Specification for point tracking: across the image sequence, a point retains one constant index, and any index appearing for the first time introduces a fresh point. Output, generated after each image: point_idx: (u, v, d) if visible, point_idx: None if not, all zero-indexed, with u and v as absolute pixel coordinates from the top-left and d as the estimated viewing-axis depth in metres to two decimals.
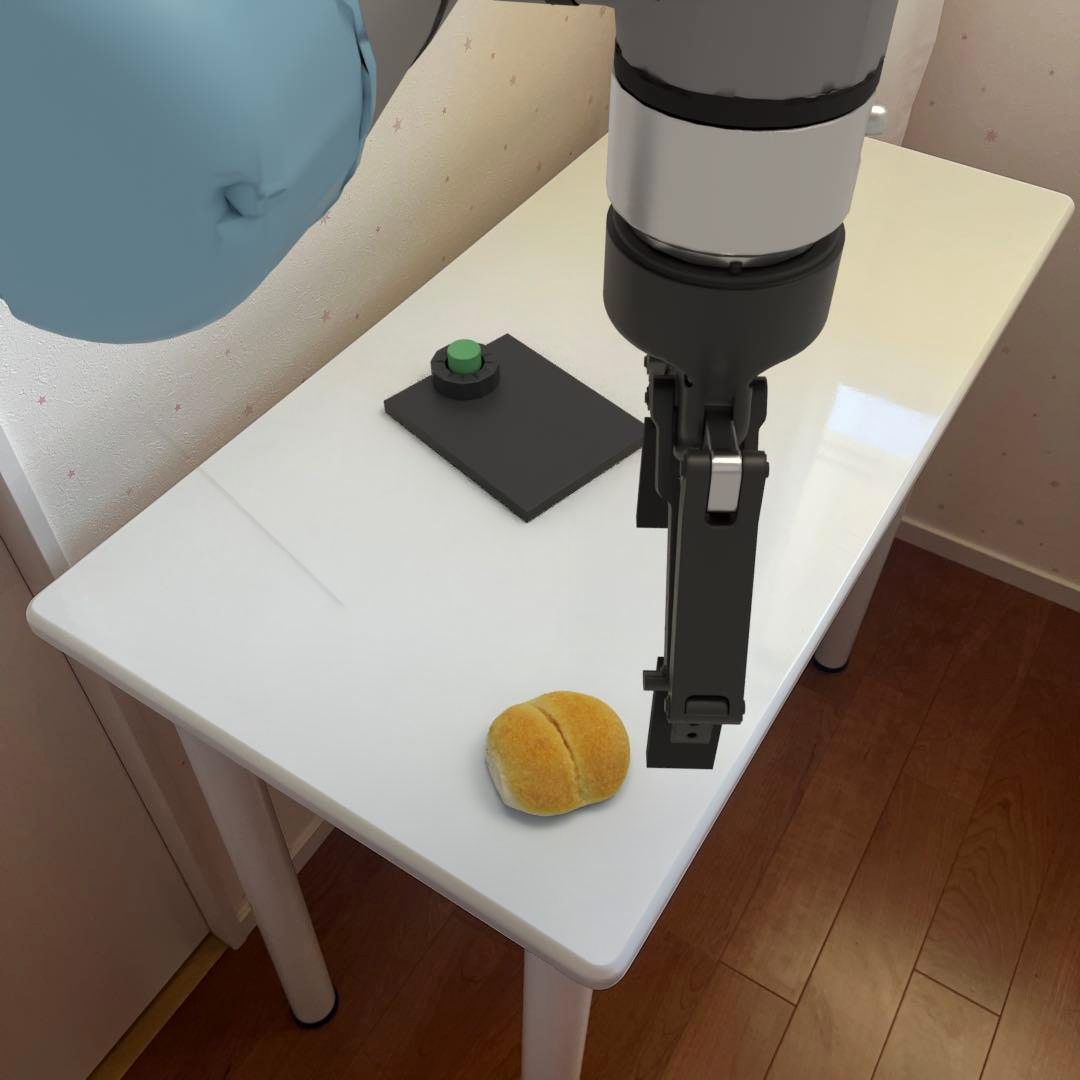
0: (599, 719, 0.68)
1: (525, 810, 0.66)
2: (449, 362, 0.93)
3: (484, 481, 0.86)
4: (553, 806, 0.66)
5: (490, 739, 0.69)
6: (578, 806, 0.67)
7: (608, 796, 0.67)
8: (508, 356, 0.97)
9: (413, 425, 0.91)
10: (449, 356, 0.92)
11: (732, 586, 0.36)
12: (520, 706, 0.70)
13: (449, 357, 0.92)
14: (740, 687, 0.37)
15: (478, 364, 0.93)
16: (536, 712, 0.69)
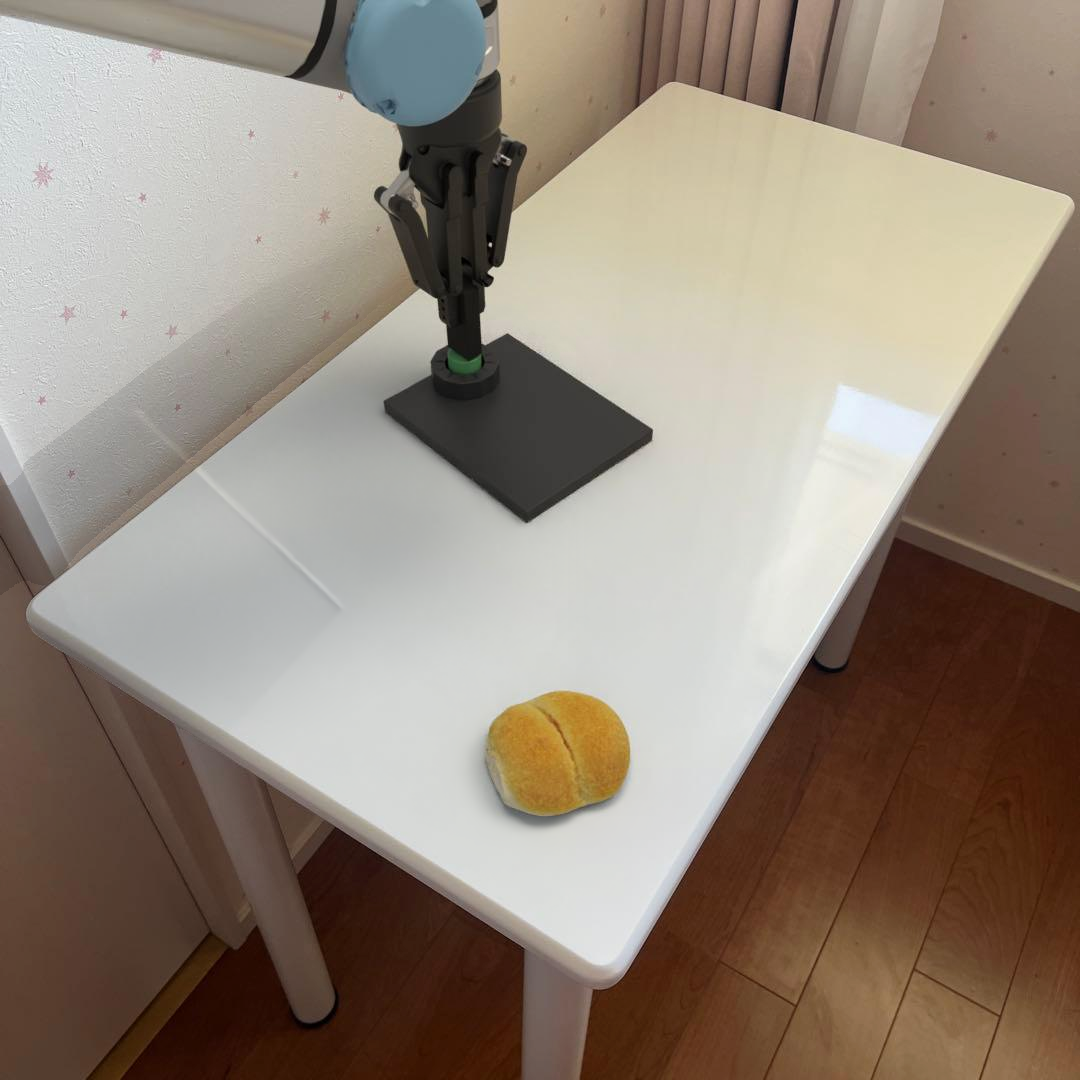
0: (599, 719, 0.68)
1: (525, 810, 0.66)
2: (449, 366, 0.93)
3: (484, 481, 0.86)
4: (553, 806, 0.66)
5: (490, 739, 0.69)
6: (578, 806, 0.67)
7: (608, 796, 0.67)
8: (508, 356, 0.97)
9: (413, 425, 0.91)
10: (449, 360, 0.92)
11: (410, 245, 0.81)
12: (520, 706, 0.70)
13: (449, 361, 0.93)
14: (428, 285, 0.84)
15: (478, 368, 0.93)
16: (536, 712, 0.69)
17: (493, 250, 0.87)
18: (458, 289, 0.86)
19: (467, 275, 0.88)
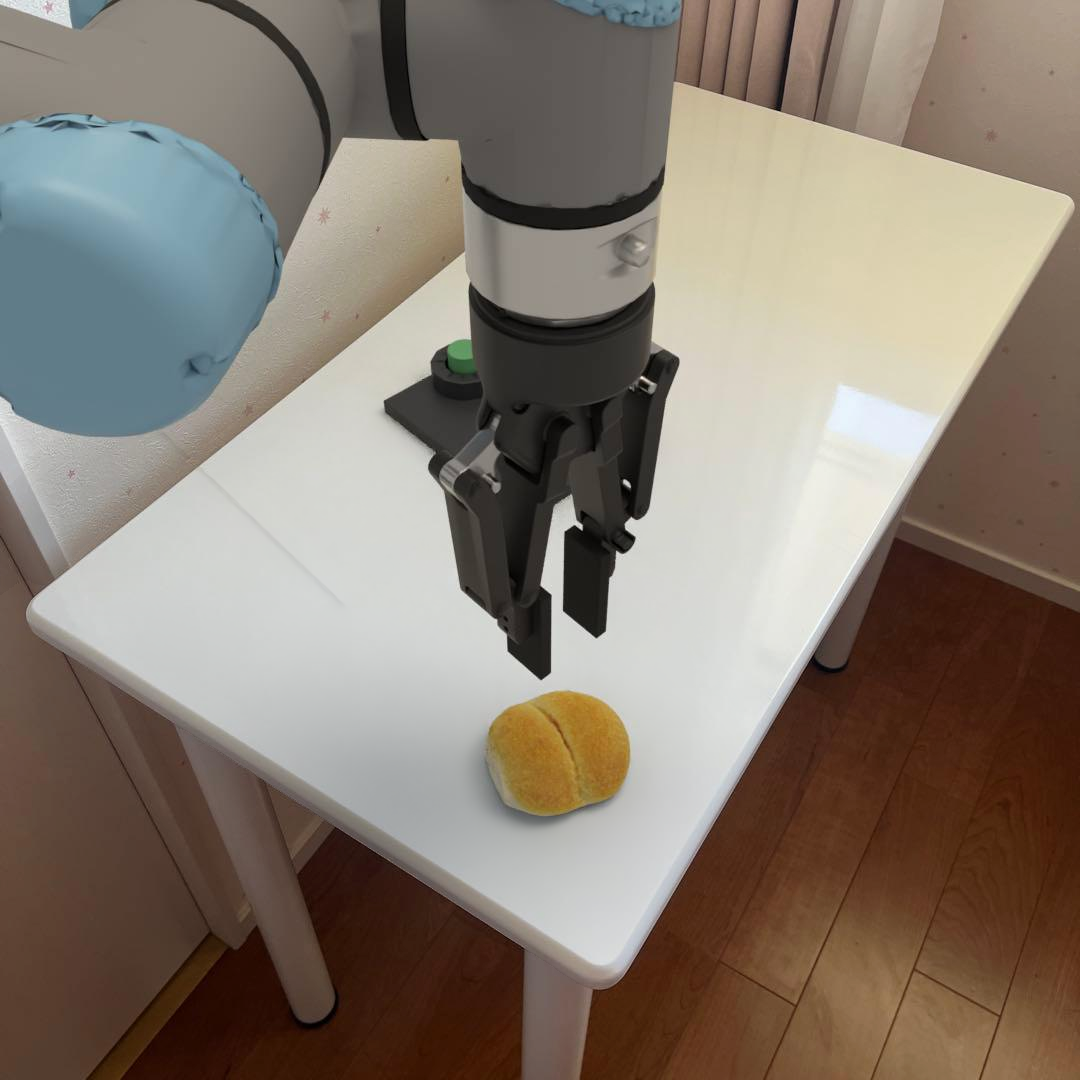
0: (599, 719, 0.68)
1: (525, 810, 0.66)
2: (449, 362, 0.93)
3: None
4: (553, 806, 0.66)
5: (490, 739, 0.69)
6: (578, 806, 0.67)
7: (608, 796, 0.67)
8: None
9: (413, 425, 0.91)
10: (449, 356, 0.92)
11: (474, 544, 0.49)
12: (520, 706, 0.70)
13: (449, 357, 0.92)
14: (489, 600, 0.51)
15: None
16: (536, 712, 0.69)
17: (633, 500, 0.56)
18: (532, 598, 0.54)
19: (593, 534, 0.57)
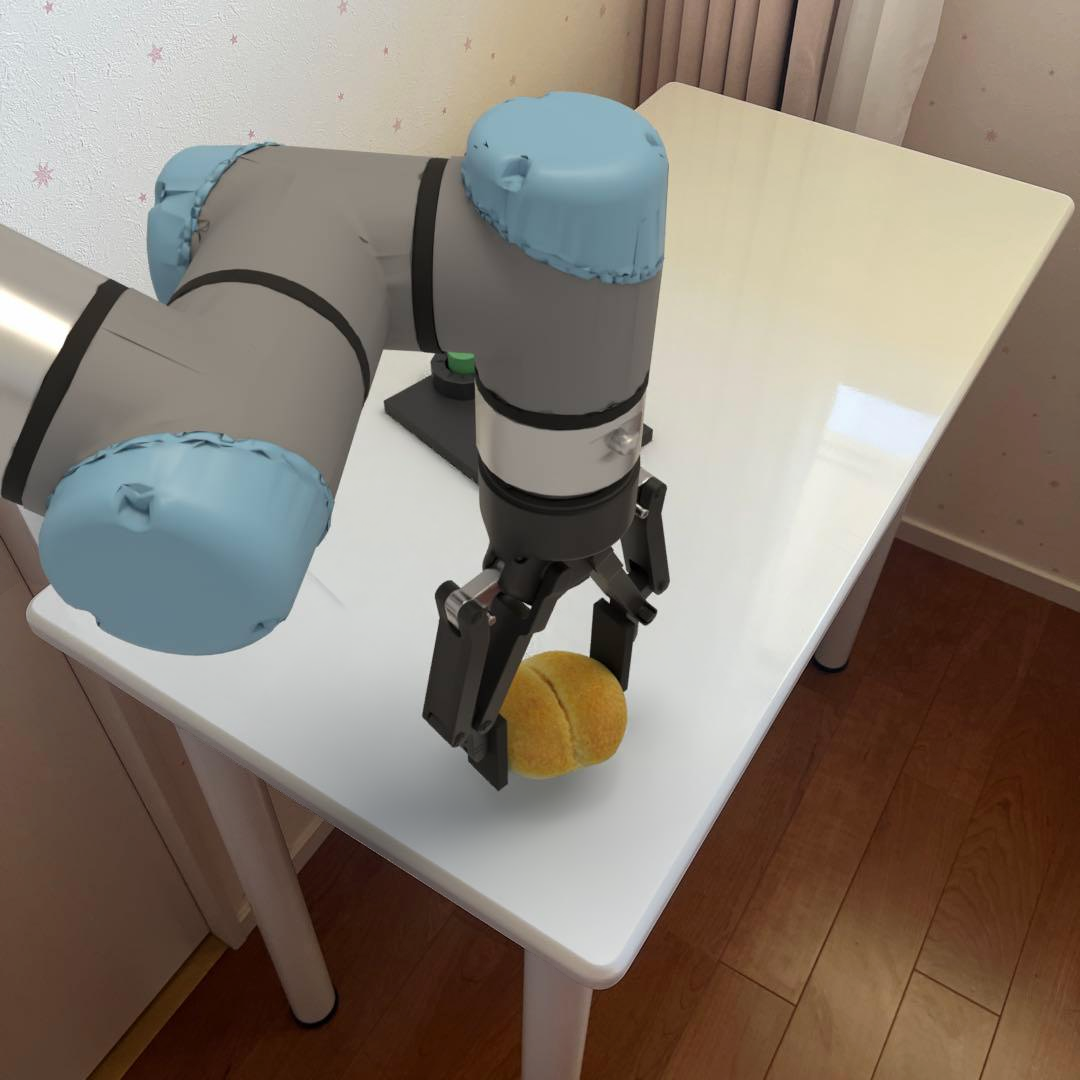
0: (595, 679, 0.65)
1: (517, 772, 0.63)
2: (449, 362, 0.93)
3: None
4: (546, 768, 0.63)
5: None
6: (572, 769, 0.64)
7: (604, 759, 0.64)
8: None
9: (413, 425, 0.91)
10: (449, 356, 0.92)
11: (456, 670, 0.54)
12: None
13: (449, 357, 0.92)
14: (452, 727, 0.56)
15: None
16: (529, 672, 0.66)
17: (652, 583, 0.63)
18: (489, 726, 0.58)
19: None
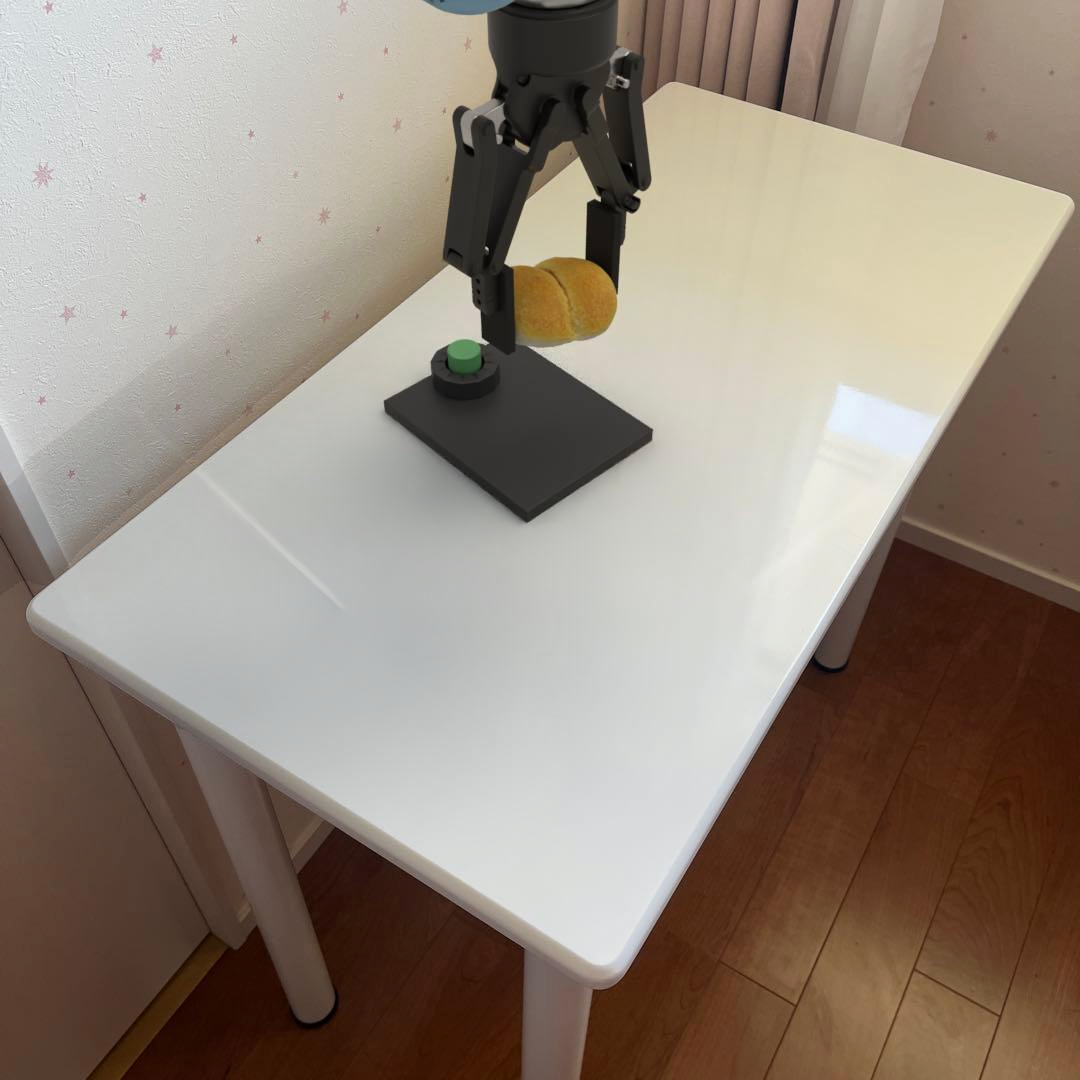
0: (589, 267, 0.77)
1: (523, 337, 0.75)
2: (449, 362, 0.93)
3: (484, 481, 0.86)
4: (548, 330, 0.74)
5: None
6: (570, 338, 0.76)
7: (597, 330, 0.76)
8: (508, 356, 0.97)
9: (413, 425, 0.91)
10: (449, 356, 0.92)
11: (470, 192, 0.66)
12: None
13: (449, 357, 0.92)
14: (468, 253, 0.68)
15: (478, 364, 0.93)
16: None
17: (636, 176, 0.75)
18: (498, 266, 0.70)
19: None
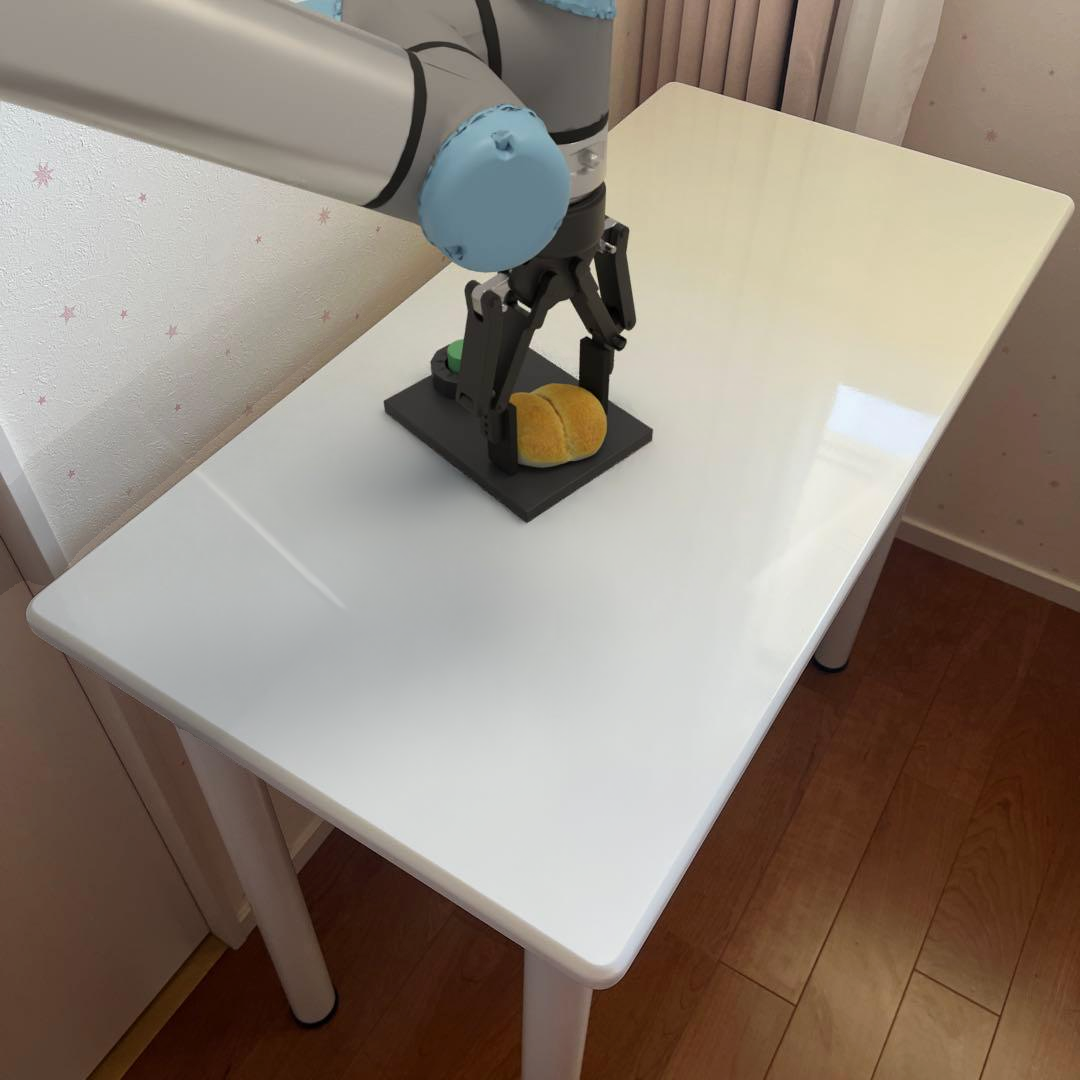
0: (582, 396, 0.88)
1: (525, 460, 0.86)
2: (449, 362, 0.93)
3: (484, 481, 0.86)
4: (546, 454, 0.85)
5: None
6: (566, 459, 0.87)
7: (589, 452, 0.87)
8: None
9: (413, 425, 0.91)
10: (449, 356, 0.92)
11: (479, 350, 0.77)
12: (521, 392, 0.89)
13: (449, 357, 0.92)
14: (477, 399, 0.79)
15: None
16: (533, 394, 0.89)
17: (623, 319, 0.86)
18: (503, 406, 0.81)
19: (600, 340, 0.87)
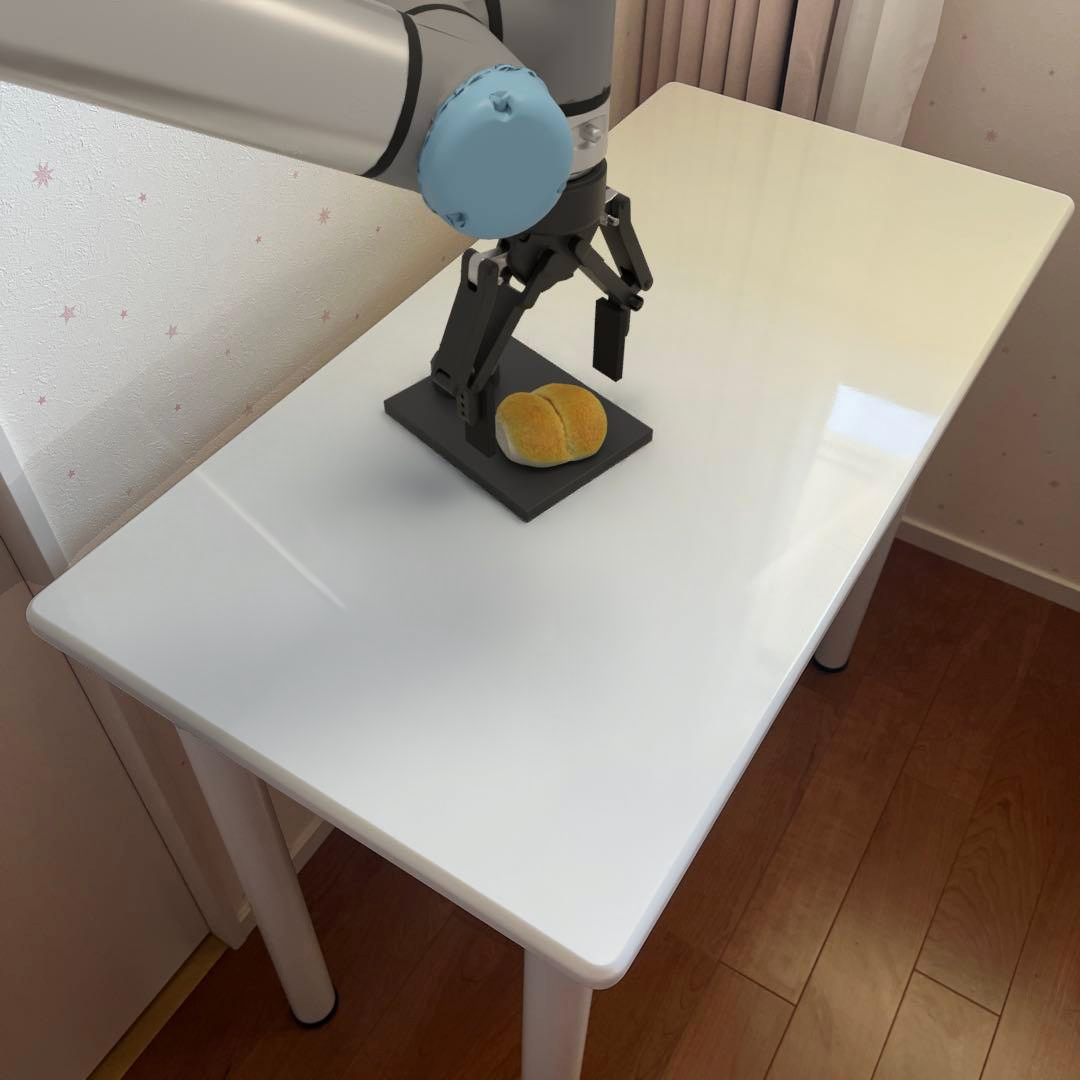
0: (582, 396, 0.88)
1: (525, 459, 0.86)
2: None
3: (484, 481, 0.86)
4: (546, 454, 0.85)
5: (498, 413, 0.88)
6: (566, 459, 0.87)
7: (589, 452, 0.87)
8: (508, 356, 0.97)
9: (413, 425, 0.91)
10: None
11: (467, 322, 0.74)
12: (521, 392, 0.89)
13: None
14: (456, 374, 0.75)
15: None
16: (533, 394, 0.89)
17: (638, 281, 0.85)
18: (480, 385, 0.78)
19: None
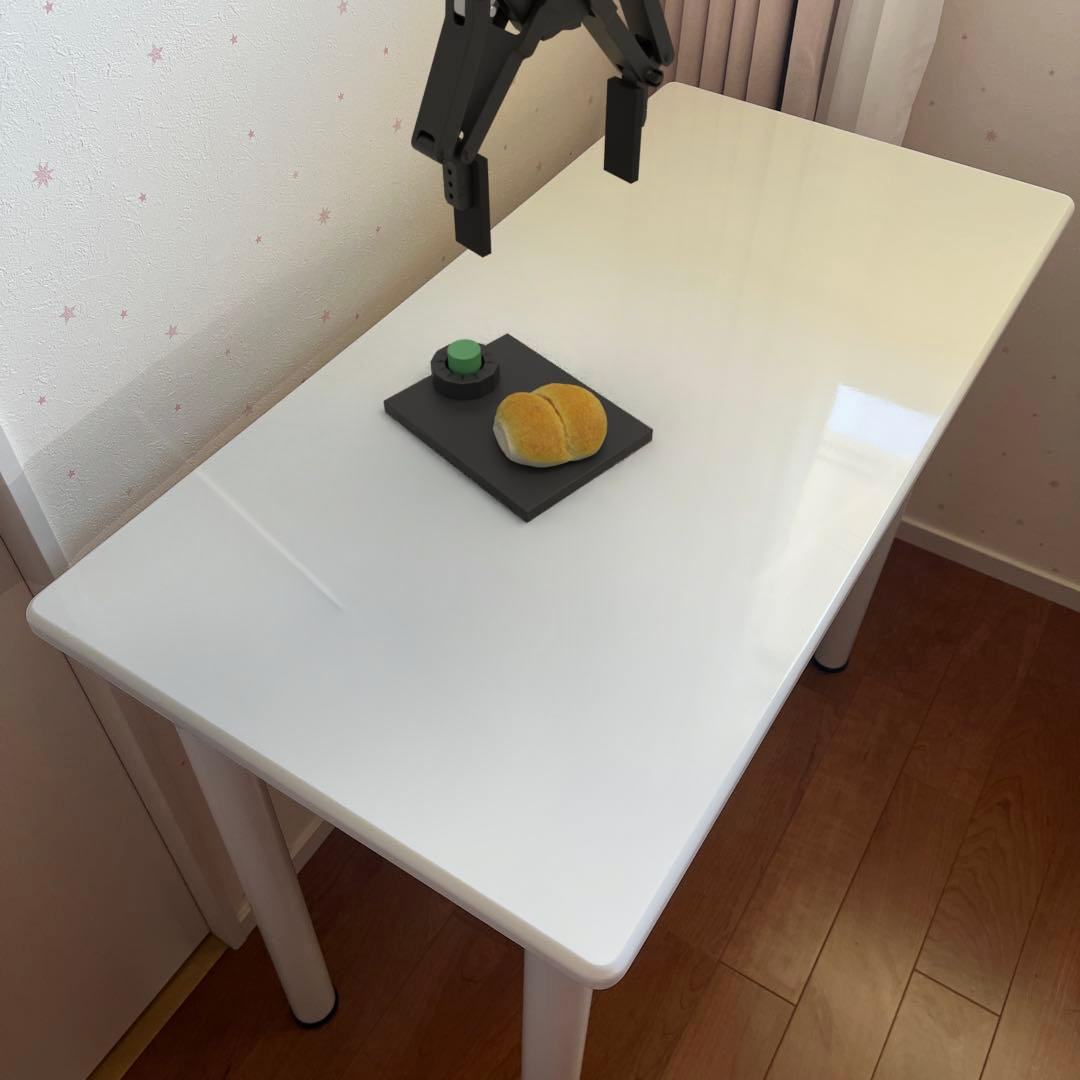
0: (582, 396, 0.88)
1: (525, 459, 0.86)
2: (449, 362, 0.93)
3: (484, 481, 0.86)
4: (546, 454, 0.85)
5: (498, 413, 0.88)
6: (566, 459, 0.87)
7: (589, 452, 0.87)
8: (508, 356, 0.97)
9: (413, 425, 0.91)
10: (449, 356, 0.92)
11: (453, 65, 0.62)
12: (521, 392, 0.89)
13: (449, 357, 0.92)
14: (441, 133, 0.63)
15: (478, 364, 0.93)
16: (533, 394, 0.89)
17: (657, 52, 0.72)
18: (471, 154, 0.65)
19: None
